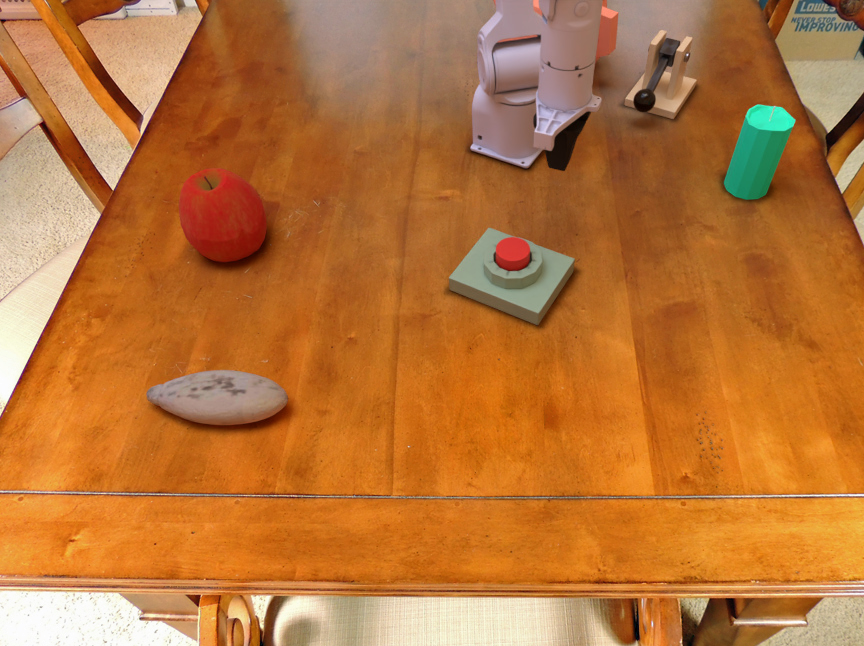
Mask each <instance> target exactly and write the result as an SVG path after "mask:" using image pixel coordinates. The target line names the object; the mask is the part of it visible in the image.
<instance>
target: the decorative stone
mask: <svg viewBox="0 0 864 646" xmlns="http://www.w3.org/2000/svg"><path fill="white" fill-rule="evenodd" d="M146 400H147V401H148V402H150V403H151V404H153V405H155V406H158V407H160V409H163V410H164V411H166V412H168V413H170V414H173V415H174V416H176V417H179V418H181V419H184V420H188V421H189V422H195V423H199V424H203V425H204V424H205V425H213V426H233V425H243V424H250V423H256V422H260V421H262V420H265V419H268V418H271V417H273V416H275V415H276V414H277V413H279V412H280V411H281V410H283V408H285V407H286V406H287V404H288V403H289V402H288V401H289V396H288V394H287V391H286V390H285V389H284V388H283V387H282V386H281V385H280V384H279V383H277V382H276V381H275V380H273V379H271V378H268V377H265V376H261V375H259V374H255V373H250V372H246V371H241V370H233V369H213V370H205V371H198V372H195V373H189V374H186V375H183V376H180V377H176V378H173V379H172V380H168V381H165V382H164V383H160V384H159V383H158V384H156V385H154V386H150V388H149V389H148V390H147V391H146Z"/></svg>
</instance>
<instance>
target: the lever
mask: <svg viewBox="0 0 864 646" xmlns="http://www.w3.org/2000/svg"><path fill="white" fill-rule="evenodd" d="M680 45H681V40H678V39H674V38H670V37H666V38H665V41H664V43H663V45H662V47H661V49H660V51H659V57H658V65H657V67H656V69H655V71H654V73H653V75H652V77H651V79H650V81H649V83H648V85H647V87H646V89H641V90H639V91H638V92H637V93H636V94H635V96H634V99H633V104H634V107H635V108H636V109H635V108H634V109H635V110H637V112H640V113H649V112H648V111H650V110H651V109H652V108H653V107H654V105H655V103H656V96H655V94H654V91H655V89H656V87H657V85H658V83H659V81H660V79H661V77H662V75H663V73H664V71H666V70H667V68H673V63H674V59H675V54H676V50H677V49H678V47H679V46H680Z"/></svg>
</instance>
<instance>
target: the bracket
mask: <svg viewBox="0 0 864 646" xmlns="http://www.w3.org/2000/svg"><path fill="white" fill-rule="evenodd" d="M667 32H668V31H667V30H663V29H660V30H659V31H658V33H657V34H656V35H655V37H653V39H652V40H651V42H650V43H649V46H648V50H647V58H646V63H645V69H644V72H643V74H642V75H641V77H640V78H639V79H638V80H637V82H636V83H635V84H634V85H633V87H632V88H631V90H630V91H629V92H628V94H627V95H626V97H625V98H624V103H623V106H625V107H629V108H632V109H634V110H637V109H636V108H635V107H634V104H633V99H634V96H635V94H636V93H637V92H638V91H639V90H641V89H646V87H647V85H648V83H649V81H650V79H651V77H652V75H653V73H654V71H655V69H656V67H657V65H658V57H659V51H660V49H661V47H662V45H663V43H664V41H665V39H666V38H667V34H668V33H667ZM693 40H694V37H692V36H688V35H686V36H685V37H684V38H683V40H682V42H680V46H679V47H678V49H677V50H676V54H675V59H674V63H673V66H672V67H671V68H672V69H671V72H669V71H666V70H665V71H664V73H663V75H662V77H661V79H660V81H659V83H658V85H657V87H656V89H655V91H654V94H655V96H656V103H655V105H654V107H653V108H652V109H651V110H650V111H648V112H647V113H650V114H653V115H656V116H659V117H660V116H661V117H664V118H667V119H671V120H674V119H675V118H676V116H677V115H678V113H679V112H680V110H681V109H682V107H683V106H684V104H685V103H686V101H687V100H688V98H689V97H690V95H691V94H692V92H693V90H694V89H695V87H696V84H697V81H698V80H697V79H696V78H692V77H688V76H685V74H686V69H687V65H688V62H689V60H690V57H691V48H692V44H693Z"/></svg>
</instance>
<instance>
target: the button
mask: <svg viewBox="0 0 864 646" xmlns="http://www.w3.org/2000/svg"><path fill="white" fill-rule="evenodd" d="M517 237H518V236H514V237H509V238H505V239H503V240H501V241H500V242H499V243H498V244H497V246H496V263H497V265H498V266H499V267H500V268H502V269H504V270H507V271H520V270H522V269H524V268H525V267H526V266H527V265H528V264H529V261H530V246H529V244H528V243H527V242H526V241H525V240H523V239H524V238H523V239H521V238H522V237H520V238H517Z"/></svg>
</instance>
